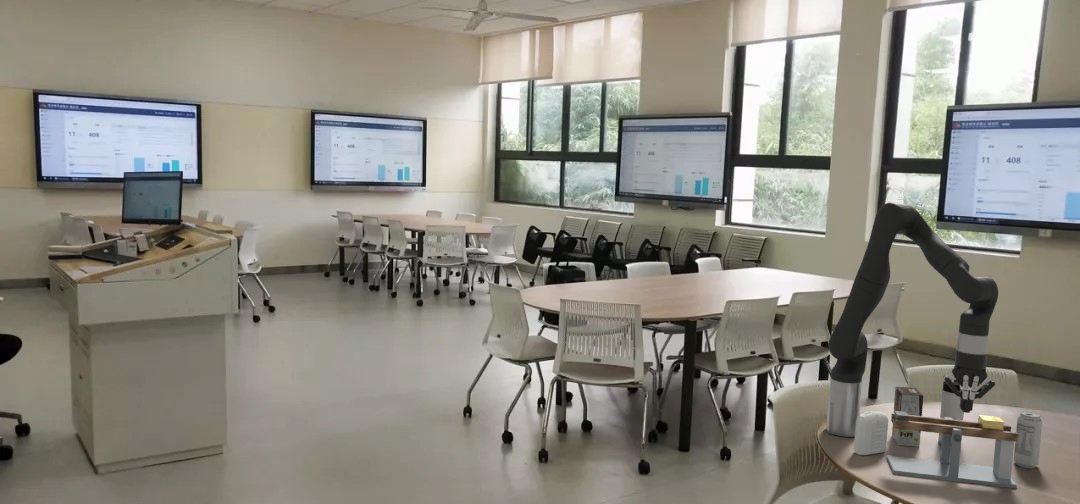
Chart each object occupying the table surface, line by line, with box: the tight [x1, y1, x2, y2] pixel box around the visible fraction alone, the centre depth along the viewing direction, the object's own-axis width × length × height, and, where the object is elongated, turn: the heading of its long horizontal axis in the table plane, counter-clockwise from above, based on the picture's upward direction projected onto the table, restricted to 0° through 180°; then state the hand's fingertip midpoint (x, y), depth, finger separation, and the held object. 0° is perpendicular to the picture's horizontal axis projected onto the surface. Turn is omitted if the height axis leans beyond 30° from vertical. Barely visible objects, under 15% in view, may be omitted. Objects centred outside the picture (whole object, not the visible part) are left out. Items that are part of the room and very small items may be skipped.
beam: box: [890, 411, 1018, 443], centre depth 213 cm, size 30×7×4 cm, turn 74°
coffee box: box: [891, 386, 924, 448], centre depth 239 cm, size 9×6×16 cm
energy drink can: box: [1013, 411, 1043, 469], centre depth 221 cm, size 6×6×15 cm
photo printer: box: [853, 410, 889, 456], centre depth 229 cm, size 10×4×12 cm, turn 115°
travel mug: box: [938, 379, 965, 445], centre depth 237 cm, size 6×7×20 cm
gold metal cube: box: [977, 414, 1005, 431], centre depth 211 cm, size 5×4×4 cm
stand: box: [886, 417, 1018, 489], centre depth 214 cm, size 30×13×14 cm, turn 74°
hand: (965, 411), depth 212 cm, fingers closed
